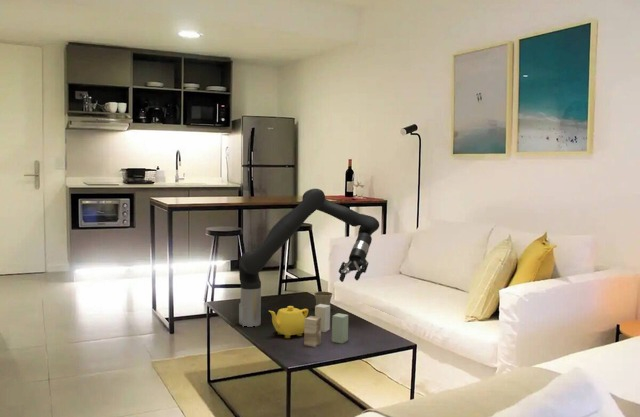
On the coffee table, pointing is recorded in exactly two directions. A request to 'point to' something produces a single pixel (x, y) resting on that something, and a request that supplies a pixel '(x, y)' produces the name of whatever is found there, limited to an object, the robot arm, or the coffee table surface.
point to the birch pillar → (312, 331)
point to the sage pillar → (340, 328)
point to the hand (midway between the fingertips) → (348, 280)
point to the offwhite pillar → (323, 316)
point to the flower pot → (323, 298)
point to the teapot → (289, 321)
